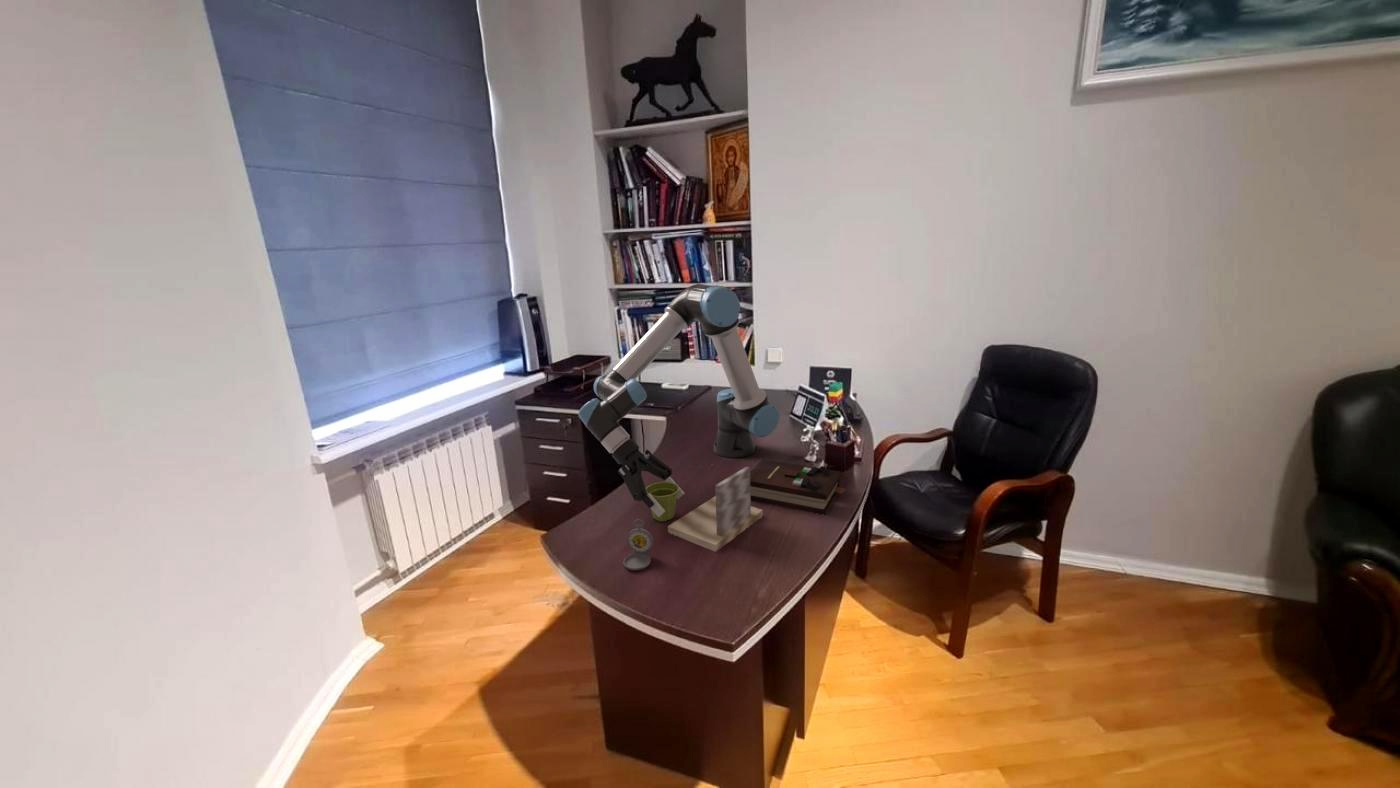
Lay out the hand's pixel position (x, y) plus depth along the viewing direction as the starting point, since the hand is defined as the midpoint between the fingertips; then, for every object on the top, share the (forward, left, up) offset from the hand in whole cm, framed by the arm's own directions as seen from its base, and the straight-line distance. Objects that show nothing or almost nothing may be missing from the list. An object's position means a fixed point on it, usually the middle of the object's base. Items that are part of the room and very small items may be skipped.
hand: (671, 505), depth 153 cm
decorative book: (-32, +20, -5) cm, 38 cm away
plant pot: (+1, -3, -4) cm, 5 cm away
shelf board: (-4, +12, -4) cm, 14 cm away
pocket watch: (+21, +7, -4) cm, 22 cm away
